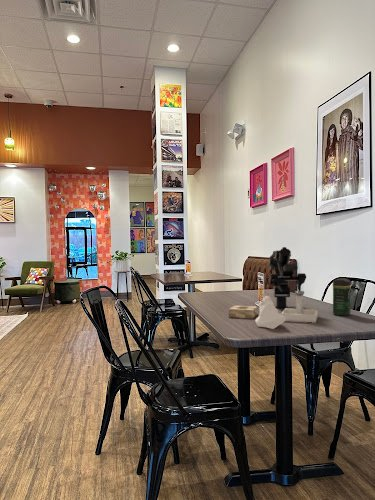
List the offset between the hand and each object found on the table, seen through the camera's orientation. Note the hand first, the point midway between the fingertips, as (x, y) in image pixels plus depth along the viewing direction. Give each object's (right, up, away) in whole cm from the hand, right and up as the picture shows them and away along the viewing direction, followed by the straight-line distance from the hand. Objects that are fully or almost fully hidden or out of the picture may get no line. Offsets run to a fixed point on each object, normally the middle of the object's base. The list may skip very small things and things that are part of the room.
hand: (291, 291), depth 190 cm
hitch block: (-25, -12, 0) cm, 28 cm away
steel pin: (+1, -11, -11) cm, 16 cm away
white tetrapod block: (-17, -13, -25) cm, 33 cm away
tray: (+1, -12, -11) cm, 16 cm away
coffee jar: (+26, -12, -1) cm, 28 cm away
